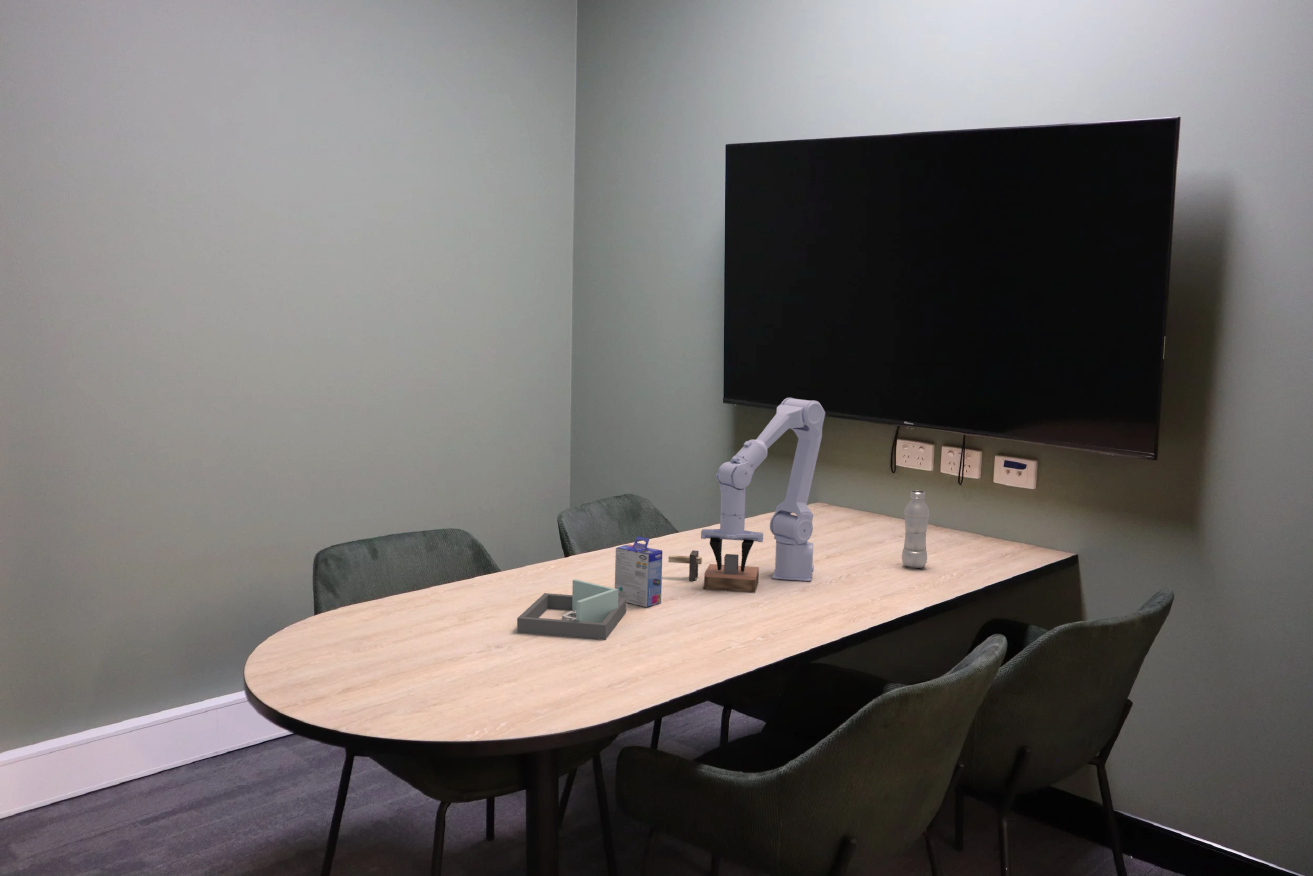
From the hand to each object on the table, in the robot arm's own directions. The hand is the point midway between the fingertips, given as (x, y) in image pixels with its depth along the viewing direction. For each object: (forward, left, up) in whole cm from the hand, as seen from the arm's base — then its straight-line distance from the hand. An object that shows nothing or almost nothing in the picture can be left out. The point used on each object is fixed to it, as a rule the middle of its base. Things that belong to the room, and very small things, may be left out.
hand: (731, 569), depth 237 cm
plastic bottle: (-44, -31, -5) cm, 54 cm away
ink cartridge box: (+19, +16, -5) cm, 25 cm away
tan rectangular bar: (+12, -6, 0) cm, 13 cm away
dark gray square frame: (+29, +34, -4) cm, 45 cm away
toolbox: (+2, -3, -4) cm, 6 cm away
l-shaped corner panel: (+28, +34, -5) cm, 45 cm away
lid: (0, -2, -2) cm, 3 cm away
